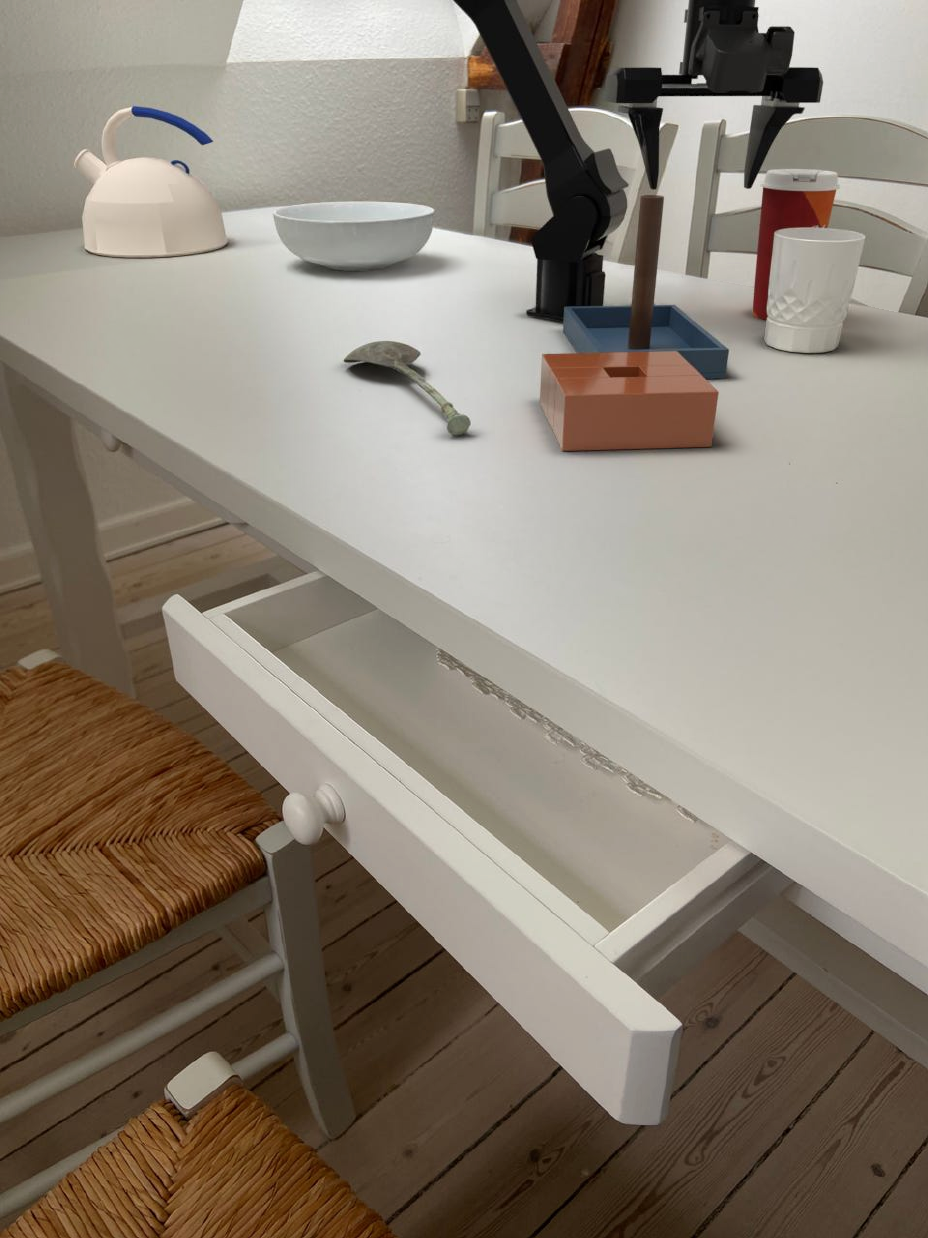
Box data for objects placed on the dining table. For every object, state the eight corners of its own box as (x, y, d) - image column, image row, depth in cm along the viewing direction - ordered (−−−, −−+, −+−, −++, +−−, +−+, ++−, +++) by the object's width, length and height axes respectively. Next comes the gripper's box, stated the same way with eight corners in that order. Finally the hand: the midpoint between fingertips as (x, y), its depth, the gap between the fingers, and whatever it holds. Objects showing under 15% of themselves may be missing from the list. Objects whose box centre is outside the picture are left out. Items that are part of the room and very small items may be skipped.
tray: (562, 331, 97) (564, 306, 96) (672, 329, 98) (675, 304, 97) (596, 381, 82) (598, 351, 81) (725, 378, 83) (729, 349, 82)
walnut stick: (623, 347, 90) (636, 196, 83) (636, 343, 91) (649, 194, 85) (641, 351, 89) (655, 198, 82) (653, 347, 90) (668, 196, 83)
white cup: (844, 338, 95) (865, 229, 90) (843, 358, 88) (866, 242, 83) (761, 331, 97) (777, 225, 92) (754, 351, 91) (771, 238, 86)
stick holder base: (539, 403, 77) (541, 353, 75) (671, 400, 78) (677, 350, 76) (562, 451, 68) (565, 395, 66) (711, 447, 68) (719, 391, 66)
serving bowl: (465, 260, 131) (465, 205, 128) (372, 287, 116) (369, 226, 112) (344, 246, 141) (341, 195, 137) (243, 269, 125) (237, 212, 122)
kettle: (120, 233, 151) (98, 102, 142) (248, 236, 149) (234, 103, 140) (55, 256, 134) (26, 108, 125) (199, 259, 131) (179, 109, 122)
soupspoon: (406, 364, 89) (338, 374, 87) (403, 327, 88) (333, 337, 86) (500, 429, 71) (416, 444, 69) (498, 384, 69) (412, 398, 68)
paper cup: (820, 325, 99) (847, 176, 92) (743, 322, 101) (764, 174, 94) (812, 308, 106) (837, 168, 99) (740, 305, 107) (759, 167, 100)
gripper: (639, -12, 77) (623, 200, 85) (866, -11, 78) (829, 198, 86) (609, -5, 87) (597, 185, 94) (812, -4, 88) (783, 184, 96)
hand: (700, 188), depth 92 cm, fingers open, 9 cm apart
